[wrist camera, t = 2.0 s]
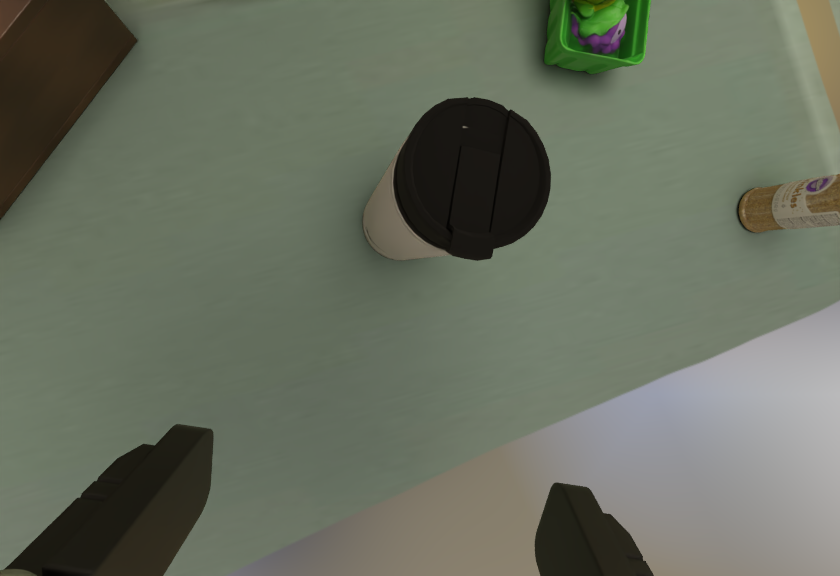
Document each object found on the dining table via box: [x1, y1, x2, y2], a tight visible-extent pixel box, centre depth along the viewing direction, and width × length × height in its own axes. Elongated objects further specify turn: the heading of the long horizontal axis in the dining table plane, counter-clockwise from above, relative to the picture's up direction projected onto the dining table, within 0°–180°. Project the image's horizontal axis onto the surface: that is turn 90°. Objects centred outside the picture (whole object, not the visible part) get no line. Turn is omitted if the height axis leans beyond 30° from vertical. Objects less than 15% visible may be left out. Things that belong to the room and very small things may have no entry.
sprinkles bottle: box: [739, 174, 840, 232], centre depth 37 cm, size 5×5×13 cm
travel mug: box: [362, 97, 551, 261], centre depth 26 cm, size 6×7×20 cm
